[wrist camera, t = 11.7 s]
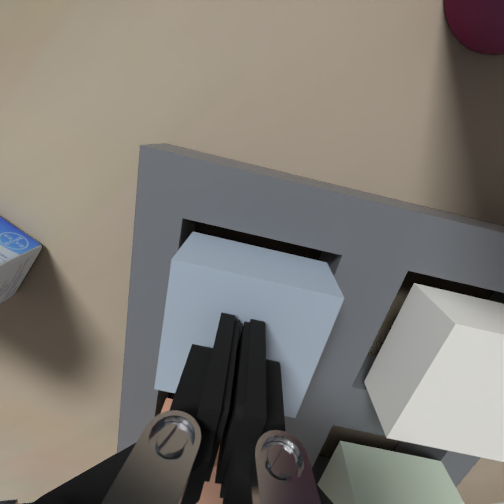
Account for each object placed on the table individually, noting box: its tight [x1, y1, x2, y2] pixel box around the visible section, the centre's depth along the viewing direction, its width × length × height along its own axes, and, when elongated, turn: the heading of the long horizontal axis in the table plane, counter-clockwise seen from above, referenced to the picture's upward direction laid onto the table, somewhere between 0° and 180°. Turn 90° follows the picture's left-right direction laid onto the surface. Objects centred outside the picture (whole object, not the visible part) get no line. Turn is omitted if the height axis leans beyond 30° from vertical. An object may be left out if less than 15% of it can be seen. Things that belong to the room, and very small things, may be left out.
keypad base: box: [117, 144, 504, 487], centre depth 17 cm, size 21×22×3 cm
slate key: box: [154, 232, 344, 418], centre depth 12 cm, size 6×6×3 cm
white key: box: [364, 283, 504, 462], centre depth 13 cm, size 6×6×3 cm
